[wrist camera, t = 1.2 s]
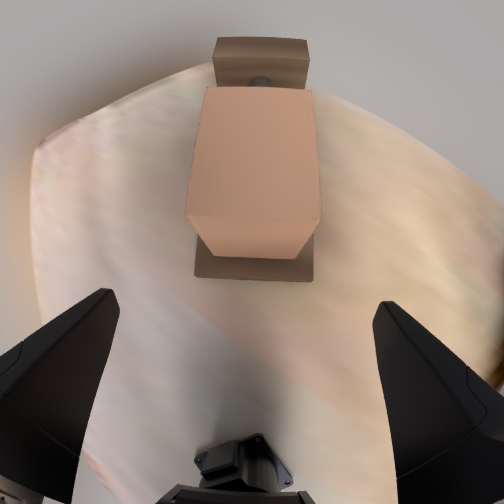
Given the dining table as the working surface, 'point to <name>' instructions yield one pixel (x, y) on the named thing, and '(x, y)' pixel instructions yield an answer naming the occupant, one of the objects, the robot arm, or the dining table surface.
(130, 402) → the dining table surface
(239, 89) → the pink box
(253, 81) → the bolt
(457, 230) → the dining table surface
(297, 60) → the stop block
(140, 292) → the dining table surface
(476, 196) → the dining table surface
